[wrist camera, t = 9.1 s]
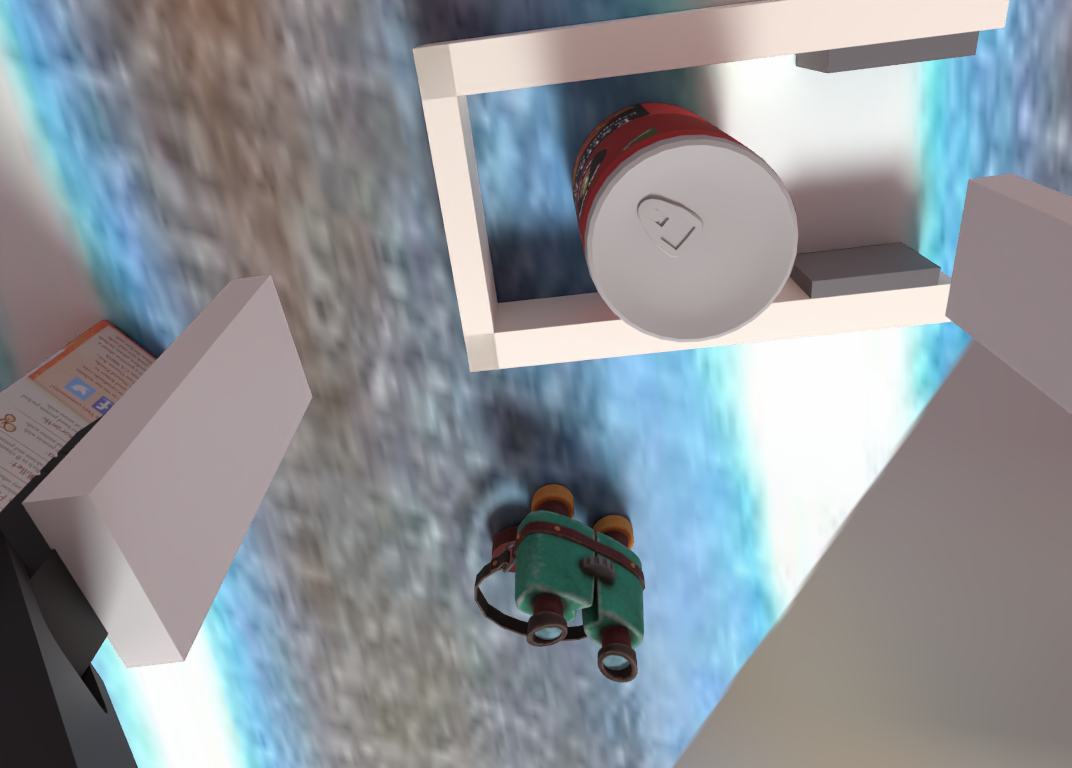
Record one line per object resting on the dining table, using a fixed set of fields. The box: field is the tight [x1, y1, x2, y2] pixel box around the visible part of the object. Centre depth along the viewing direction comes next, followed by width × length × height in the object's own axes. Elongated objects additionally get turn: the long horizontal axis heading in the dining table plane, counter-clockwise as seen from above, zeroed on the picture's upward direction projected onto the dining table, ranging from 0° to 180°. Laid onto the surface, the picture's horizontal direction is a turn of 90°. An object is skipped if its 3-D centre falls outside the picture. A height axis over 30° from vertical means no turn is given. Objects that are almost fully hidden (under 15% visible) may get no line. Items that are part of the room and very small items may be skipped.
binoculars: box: [475, 484, 645, 682], centre depth 42 cm, size 9×10×10 cm
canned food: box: [572, 103, 798, 342], centre depth 31 cm, size 8×8×11 cm
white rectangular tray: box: [413, 0, 1009, 372], centre depth 34 cm, size 15×24×4 cm, turn 97°
